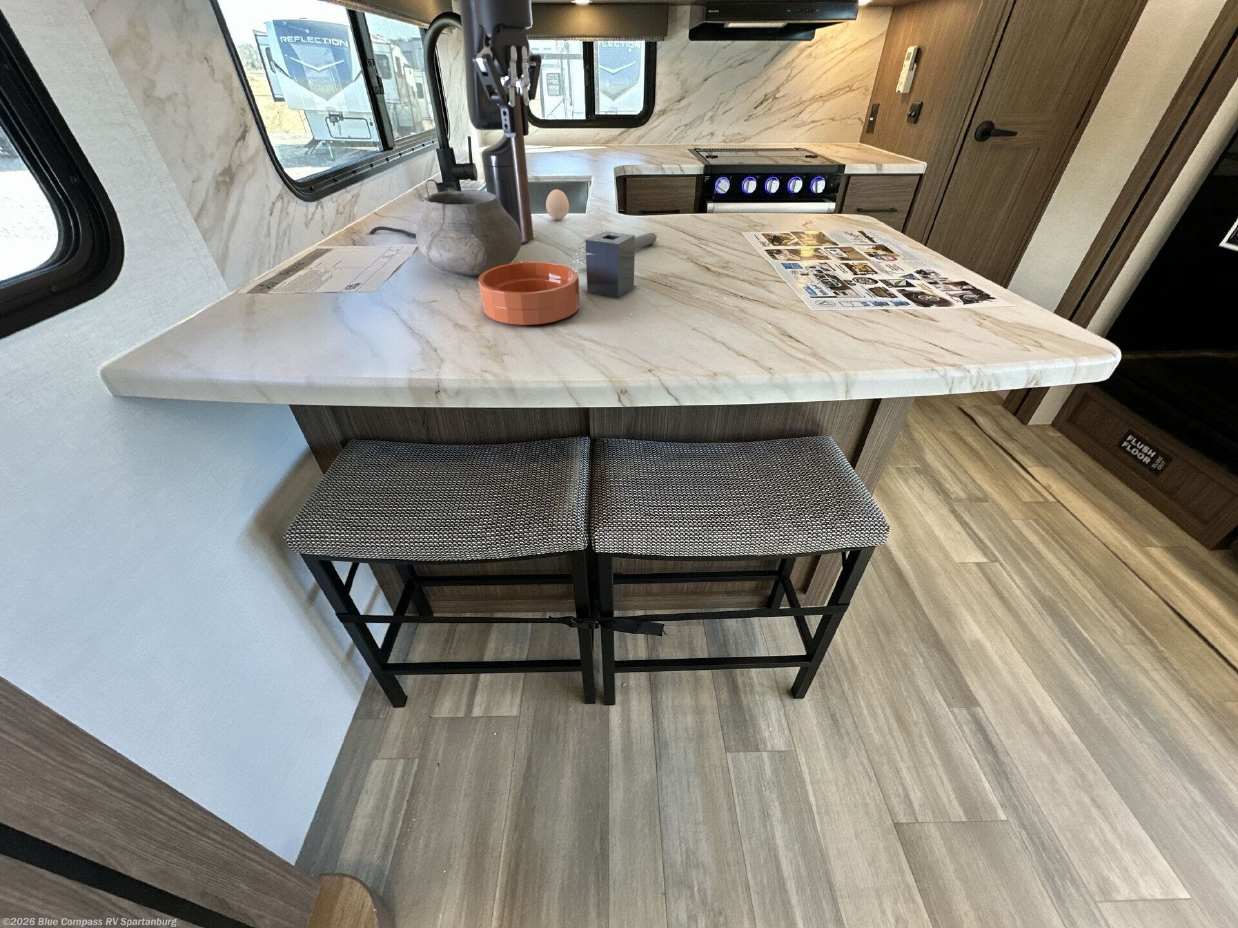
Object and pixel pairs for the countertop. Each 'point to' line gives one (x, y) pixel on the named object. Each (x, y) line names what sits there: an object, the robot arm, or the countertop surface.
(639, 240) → the kitchen whisk
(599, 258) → the block
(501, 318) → the bowl
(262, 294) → the countertop surface
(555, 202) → the egg
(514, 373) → the countertop surface
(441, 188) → the mug
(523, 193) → the stirring stick
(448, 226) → the clay pot
